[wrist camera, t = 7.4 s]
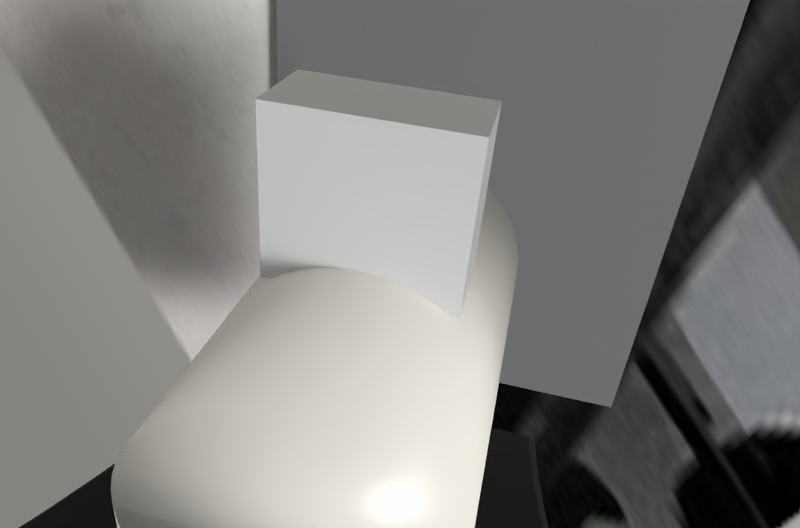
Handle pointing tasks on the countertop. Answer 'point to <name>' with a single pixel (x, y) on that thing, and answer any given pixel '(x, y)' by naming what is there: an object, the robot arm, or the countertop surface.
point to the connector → (345, 327)
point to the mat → (554, 143)
